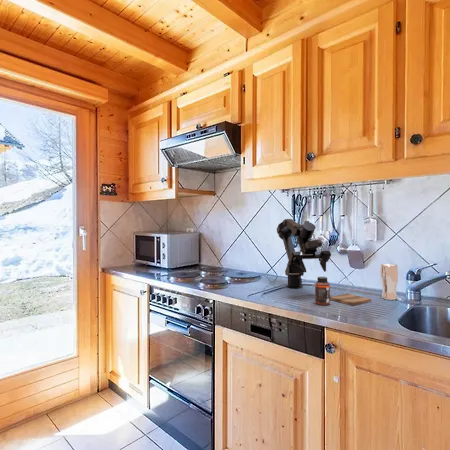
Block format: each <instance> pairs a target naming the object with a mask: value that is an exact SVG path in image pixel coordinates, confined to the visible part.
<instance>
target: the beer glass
mask: <svg viewBox="0 0 450 450" xmlns="http://www.w3.org/2000/svg"><path fill="white" fill-rule="evenodd" d="M379 272H380V273H379V274H380V280H381V287H382V294H381V298H382V299H383V300H390V301H395V300H396V301H397V300H398V296H397V286H398V280H399V269H398V264H392V263H383V264H380V271H379Z"/></svg>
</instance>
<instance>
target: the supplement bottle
mask: <svg viewBox="0 0 450 450" xmlns="http://www.w3.org/2000/svg"><path fill="white" fill-rule="evenodd" d="M314 286H315V288H314V289H315V291H314V293H315V304H317V305H320V306H329V305H330V303H331V300H330V297H331V289H330V288H331V284H330V282H329V281H328V277H327V276H317V280H316V282H315V284H314Z"/></svg>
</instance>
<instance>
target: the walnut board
mask: <svg viewBox="0 0 450 450" xmlns="http://www.w3.org/2000/svg"><path fill="white" fill-rule="evenodd" d="M330 301H334V302H338V303H340V304H343V305H349V306H351V307H354V306H358V305H362V304H367V303H370V302H372V299H371V298H369V297H364V296H360V295H356V294H352V293H343V294H342V293H341V294H337V295H334V296H333V295H332V296H330Z"/></svg>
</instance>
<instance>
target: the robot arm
mask: <svg viewBox="0 0 450 450" xmlns="http://www.w3.org/2000/svg"><path fill="white" fill-rule="evenodd" d="M315 230H316V225H315V224H314V223H312V222H310V221H309V220H304V223H303V224H301V223H298V222H296V221H294V219H293V218H284V219H283V221H282V222H280V223H278V225H277V227H276V234H277V235H278V238H280V239H281V240H282V241H283V245H284V248H285V252H286V255H287V259H288V261H287V263H286V264H287V265H286V268H285V270H284V274H285V276H286V277H287V285H286V288H291V289H299V288H303V285H302V283H303V281H302V280H303V279H302V277H303V276H304V273H307V269H306V265H305V263H304V261H303V260H318V262H319V264H320V267H321V268H322V270H323V272H326V271H327V263H328V262H329V260H330V259H331V256H332V252H331V251H330V250H320V253H317V251H318V249H319V248H321V247H322V246H323V243H322V240H321V239H316V240H315V239H312V240H311V238H313V236H314V232H316V231H315ZM292 236H293V237H297V238H296V244H297V245H298V246H299V248H300V250H299V251H296V250H295V246H294V242H293V239H292Z"/></svg>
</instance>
